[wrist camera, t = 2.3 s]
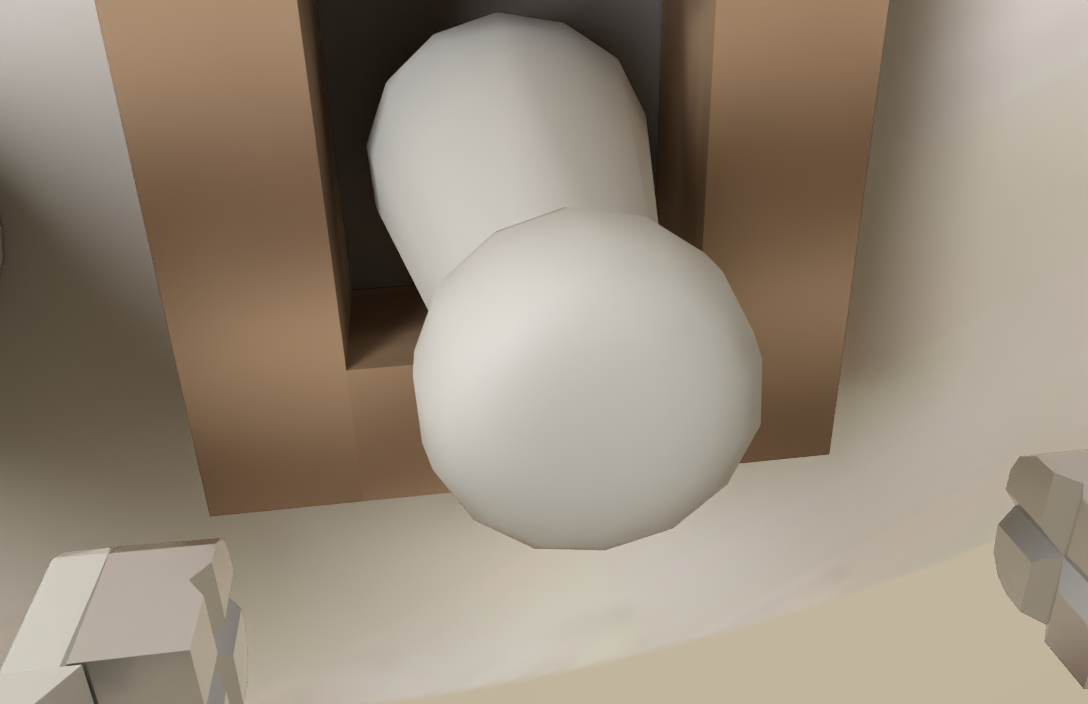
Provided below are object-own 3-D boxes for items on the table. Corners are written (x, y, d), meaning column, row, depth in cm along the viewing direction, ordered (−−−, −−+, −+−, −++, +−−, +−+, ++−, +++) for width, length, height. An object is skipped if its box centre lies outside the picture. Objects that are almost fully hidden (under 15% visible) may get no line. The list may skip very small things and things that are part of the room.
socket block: (107, -220, 19) (43, -227, 15) (829, -236, 20) (921, -246, 17) (234, 419, 25) (210, 516, 22) (771, 371, 27) (829, 454, 23)
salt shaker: (587, -43, 21) (814, 121, 10) (651, 200, 24) (886, 543, 13) (326, 47, 22) (261, 308, 10) (420, 278, 24) (451, 686, 13)
